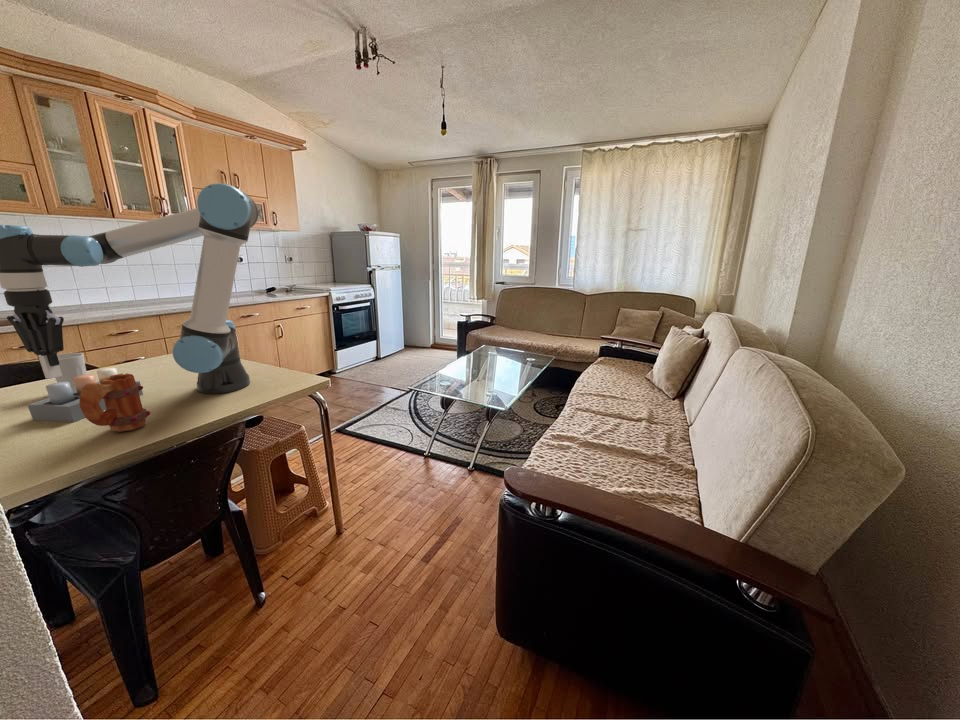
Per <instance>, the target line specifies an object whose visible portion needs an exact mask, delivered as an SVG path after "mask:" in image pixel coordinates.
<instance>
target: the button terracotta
mask: <svg viewBox="0 0 960 720" xmlns="http://www.w3.org/2000/svg"><path fill="white" fill-rule="evenodd" d="M96 379H97V378H96V376H95V374H93V373H92V374H91V373H87V374H86V375H80V376H76V377H74V378H73V381H74V385H75V388H76V391H77V394H78V395H80V394H81V391H82V389H83V387H84V386H85V385H86V384H89V383H97V382H98V381H97V380H96Z"/></svg>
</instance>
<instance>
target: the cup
mask: <svg viewBox="0 0 960 720" xmlns="http://www.w3.org/2000/svg"><path fill="white" fill-rule="evenodd" d="M57 357H58V360H59V366H60V370H61V373H62V376H59V377H55V378H54V379H55V381H56V383H58V382H69V383H70V386H71V389H72V390H74V389H76V388H75V385H74V381H73V378H74V377H76V376H80V375H86V374H88V373H87V367H86V364H85V363H86V362H85V357H84V353H83V352H69V353H68V352H67V353H61V354H57Z"/></svg>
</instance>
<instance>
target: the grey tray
mask: <svg viewBox="0 0 960 720" xmlns="http://www.w3.org/2000/svg"><path fill="white" fill-rule="evenodd" d="M96 382H97V383H98V384H100V381H96ZM135 382H136V383H138V384H139V385H140V386H142V385H141V382H140V381H139V380H135ZM72 392H73V395H74V398H75V400H74V401H71V402H68V403H64V404H57V405H53V404H51V401H50V398H49V397H47V398H45V399H42V400H37V401H34V402H32V403H28V404H27V408H28V411H29V413H30V416H31V419H32V421H45V422H63V423H64V422H65V423H67V422H69V423H75V422H78V421H80V420H82V419H86V417H85V416H84V414H83V413H82V411H81V408H80V395H78V394H77V391H76V389H74V390H72ZM143 394H144V393H143V389H142V390H140V391H139V396H142V395H143ZM99 405H100V407H101V409H102V410H103V411H105V410H106V406H105V403H104V399H103V398H102V399H101V401H100V402H99Z"/></svg>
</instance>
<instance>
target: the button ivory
mask: <svg viewBox="0 0 960 720" xmlns="http://www.w3.org/2000/svg"><path fill="white" fill-rule="evenodd" d="M96 374H97V377H98V378H97V379H98V380H99V381H100V380H101V379H102V378H106V377H110V376H111V375H117V374H119V373H118V369H117V367H105V368H100V369H97V370H96ZM99 381H98V382H99Z"/></svg>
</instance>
